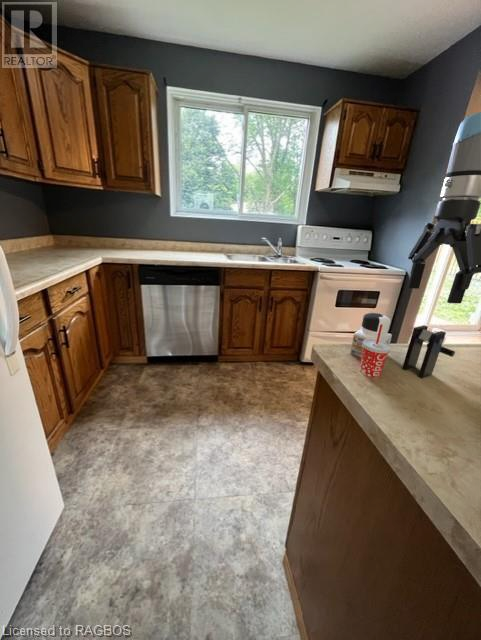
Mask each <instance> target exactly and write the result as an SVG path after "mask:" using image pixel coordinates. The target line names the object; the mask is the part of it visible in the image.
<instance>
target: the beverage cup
mask: <svg viewBox="0 0 481 640" xmlns="http://www.w3.org/2000/svg"><path fill="white" fill-rule="evenodd" d="M382 326H383V325H382V324H380V328H379V332H378V337H377V340H374V339H366V340H364V341H363V344H362V345H363V351H362V357H361V358H360V363H359V364H360V365H359V372H360V373H361V374H362V375H364V376H366V377H368V378H369V377H370V378H379V377H381V375H382V372H383V369H384V367H385V364H386V361H387V358H388V356H389V355H388V354H389V353H390V352H391V350H392V346H391V344H390V345H389V344H387V343H385V342H383V341H379V338H380V334H381V330H382Z"/></svg>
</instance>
